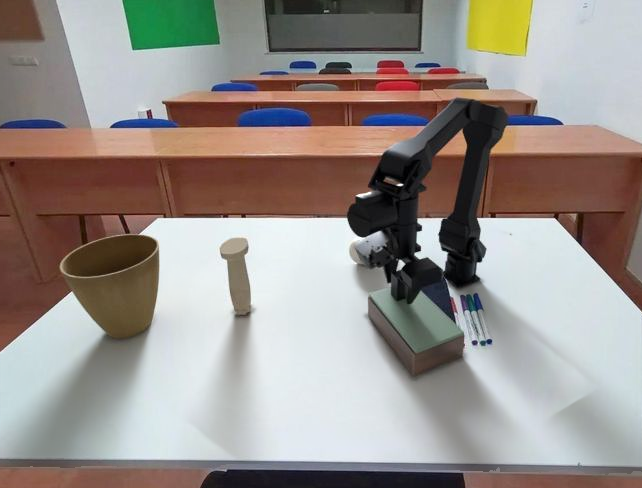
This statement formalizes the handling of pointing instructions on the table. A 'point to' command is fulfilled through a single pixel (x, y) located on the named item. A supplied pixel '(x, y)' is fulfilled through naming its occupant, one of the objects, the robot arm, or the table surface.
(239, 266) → the handle
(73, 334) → the table surface
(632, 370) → the table surface
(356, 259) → the cream round ball
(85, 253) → the plant pot
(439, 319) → the sliding door
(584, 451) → the table surface
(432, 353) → the brown wooden box
